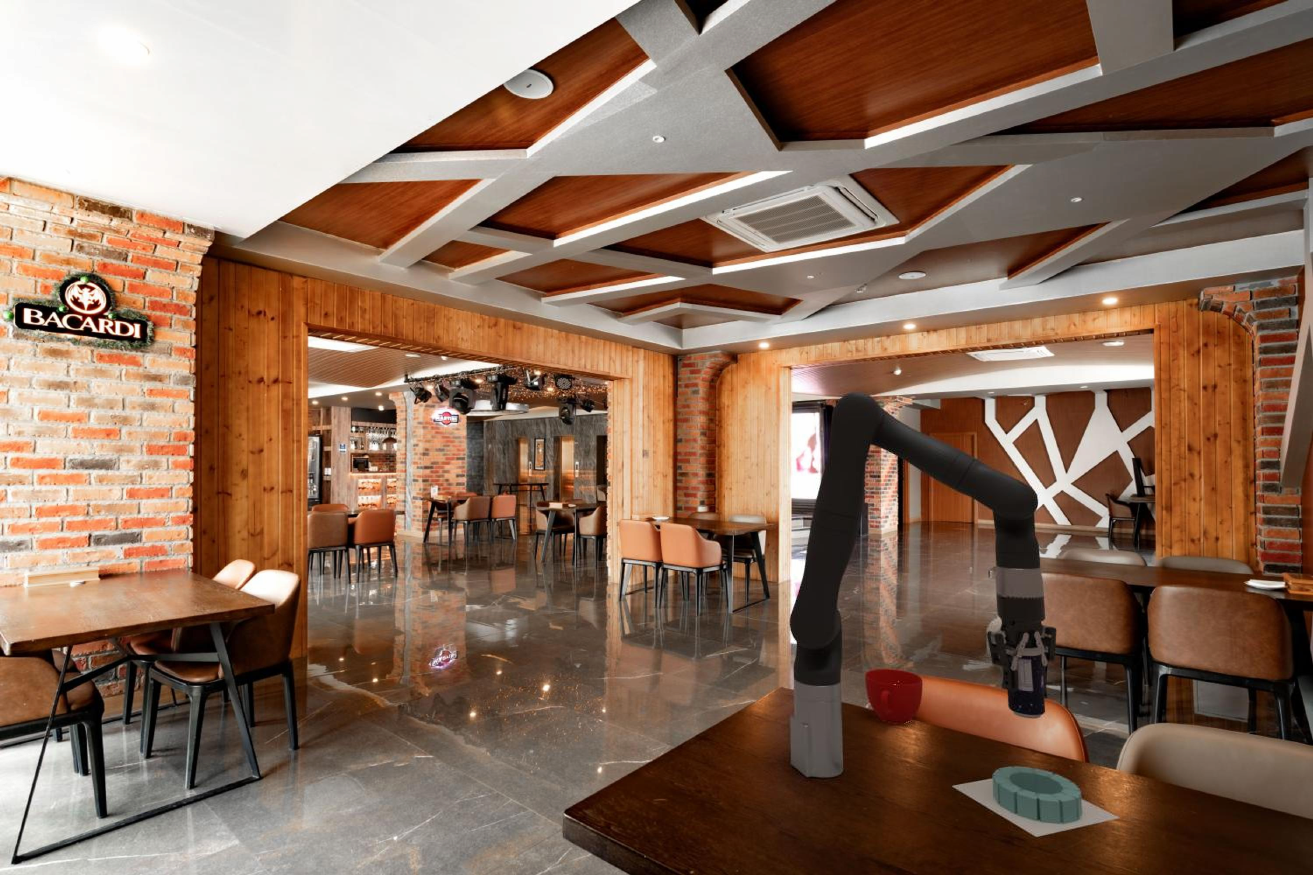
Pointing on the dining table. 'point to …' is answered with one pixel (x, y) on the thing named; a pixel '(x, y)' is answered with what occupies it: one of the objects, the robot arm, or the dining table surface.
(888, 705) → the ceramic cup
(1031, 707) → the beverage can
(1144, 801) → the dining table surface
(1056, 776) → the ring
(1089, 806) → the mat
